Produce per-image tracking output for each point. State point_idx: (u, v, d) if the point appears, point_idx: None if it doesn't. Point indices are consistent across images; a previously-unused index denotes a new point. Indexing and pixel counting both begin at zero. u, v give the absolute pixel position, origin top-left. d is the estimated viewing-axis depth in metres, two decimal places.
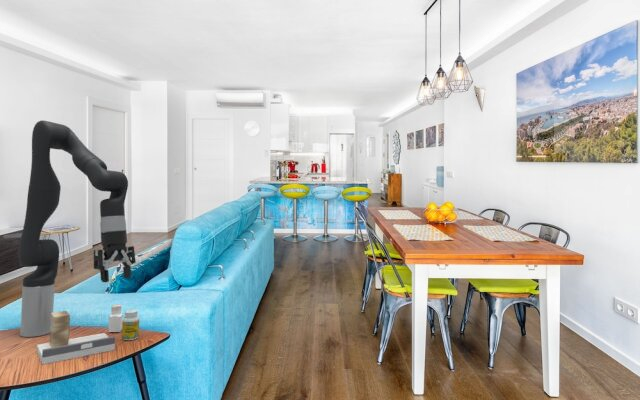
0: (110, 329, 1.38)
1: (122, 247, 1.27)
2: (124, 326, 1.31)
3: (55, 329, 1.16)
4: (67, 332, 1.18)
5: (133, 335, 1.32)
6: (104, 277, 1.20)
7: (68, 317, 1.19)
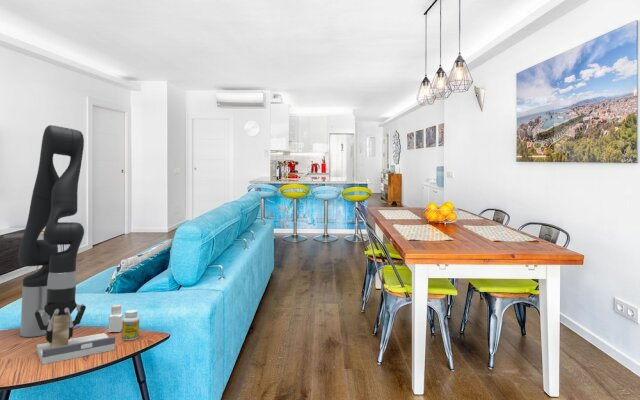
0: (110, 329, 1.38)
1: (69, 304, 1.20)
2: (124, 326, 1.31)
3: (55, 329, 1.16)
4: (67, 332, 1.18)
5: (133, 335, 1.32)
6: (47, 338, 1.17)
7: (68, 317, 1.19)
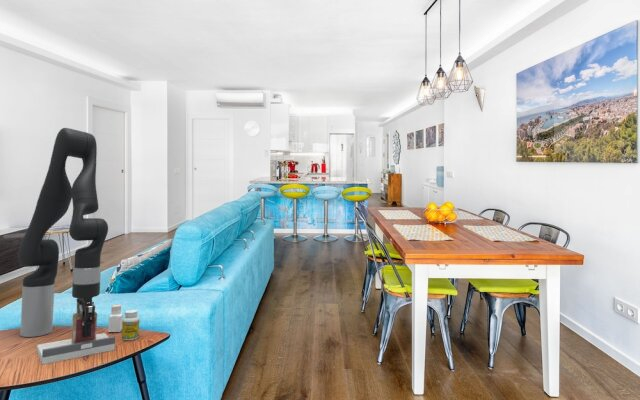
0: (110, 329, 1.38)
1: (83, 301, 1.19)
2: (124, 326, 1.31)
3: (72, 325, 1.20)
4: (73, 333, 1.17)
5: (133, 335, 1.32)
6: None
7: (74, 318, 1.18)
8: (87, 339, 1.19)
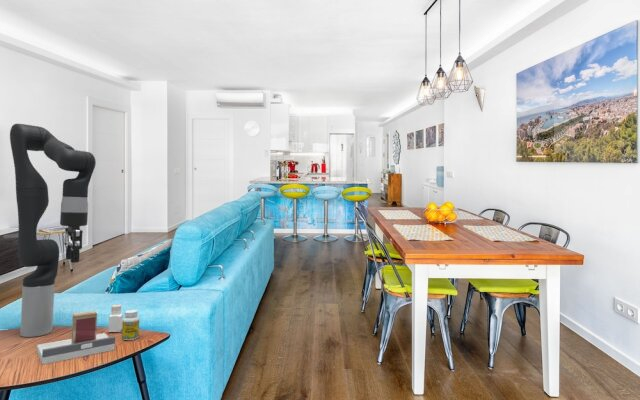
0: (110, 329, 1.38)
1: (70, 229, 1.22)
2: (124, 326, 1.31)
3: (72, 325, 1.20)
4: (73, 333, 1.17)
5: (133, 335, 1.32)
6: None
7: (74, 318, 1.18)
8: (87, 339, 1.19)
